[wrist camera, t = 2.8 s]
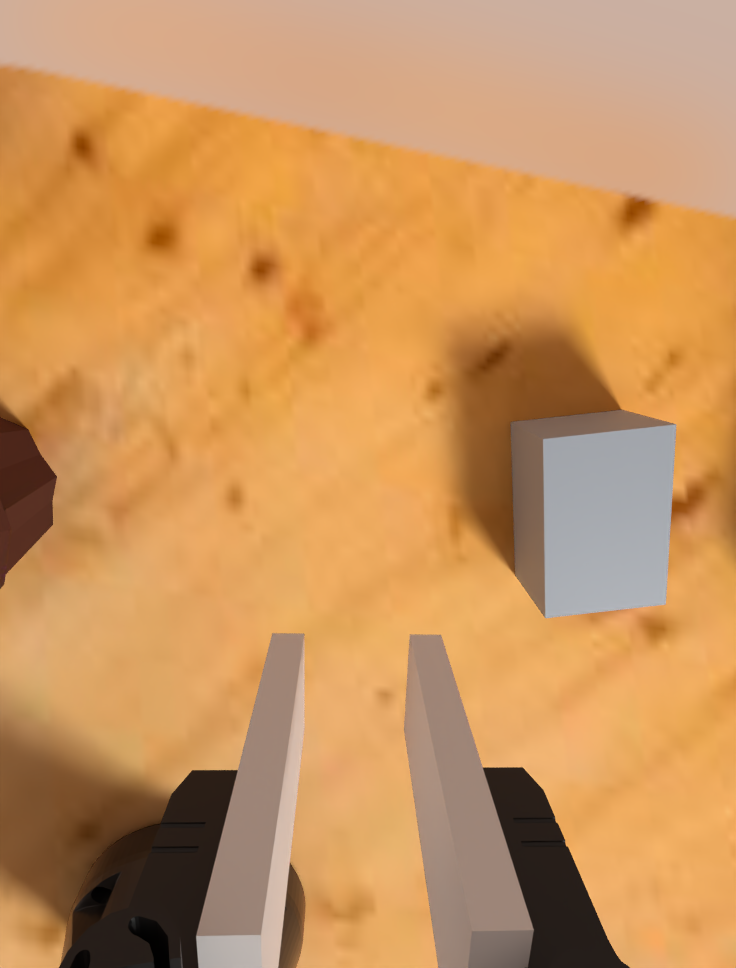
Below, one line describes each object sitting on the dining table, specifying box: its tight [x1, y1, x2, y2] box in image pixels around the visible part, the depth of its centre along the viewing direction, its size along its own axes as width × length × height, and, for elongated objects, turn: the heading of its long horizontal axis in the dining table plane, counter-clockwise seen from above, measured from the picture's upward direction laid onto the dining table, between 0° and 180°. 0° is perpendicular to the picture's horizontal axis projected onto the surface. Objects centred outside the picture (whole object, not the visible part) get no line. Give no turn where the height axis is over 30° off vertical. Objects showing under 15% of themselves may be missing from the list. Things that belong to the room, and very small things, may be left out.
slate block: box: [511, 410, 676, 618], centre depth 27 cm, size 6×9×5 cm, turn 6°
